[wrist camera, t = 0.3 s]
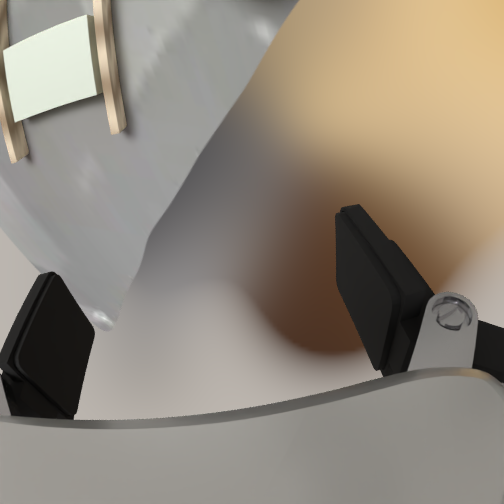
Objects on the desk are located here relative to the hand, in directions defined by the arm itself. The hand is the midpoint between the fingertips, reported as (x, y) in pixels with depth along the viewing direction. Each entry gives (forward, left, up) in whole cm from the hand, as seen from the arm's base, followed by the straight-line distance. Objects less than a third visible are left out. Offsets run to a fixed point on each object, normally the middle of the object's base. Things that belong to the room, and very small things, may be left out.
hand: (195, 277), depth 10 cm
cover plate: (-10, -18, -31) cm, 37 cm away
